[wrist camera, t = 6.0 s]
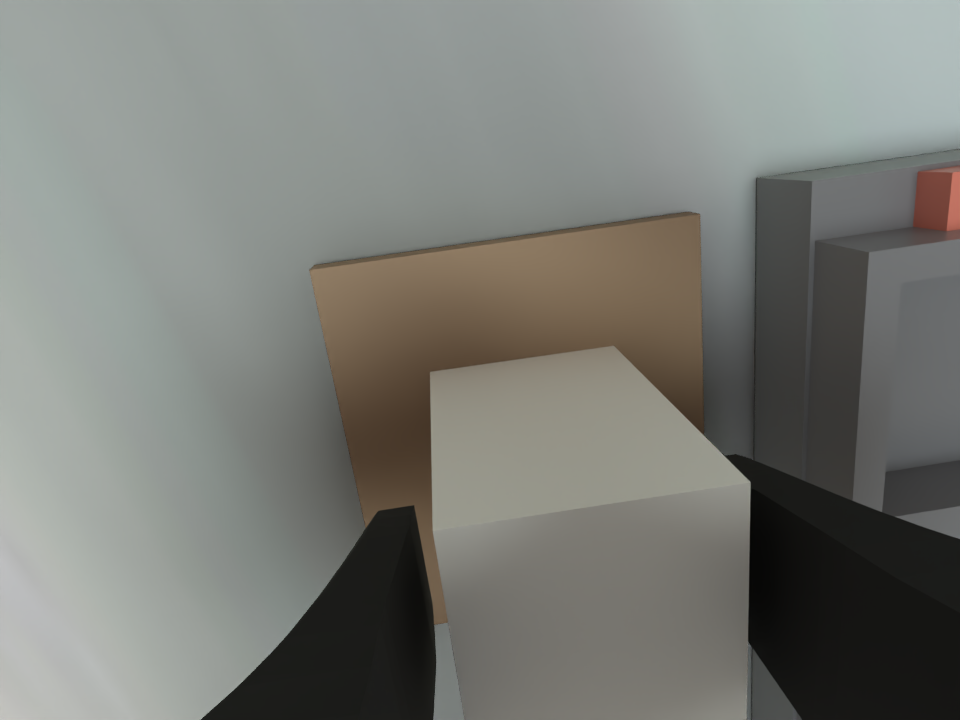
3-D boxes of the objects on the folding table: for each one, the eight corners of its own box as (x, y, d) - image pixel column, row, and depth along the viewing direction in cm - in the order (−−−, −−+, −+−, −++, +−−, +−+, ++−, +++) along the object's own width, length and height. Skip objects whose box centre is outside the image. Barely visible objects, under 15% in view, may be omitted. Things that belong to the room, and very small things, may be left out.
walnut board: (696, 564, 16) (706, 579, 16) (389, 615, 16) (388, 632, 15) (688, 212, 13) (700, 214, 13) (314, 265, 13) (309, 269, 12)
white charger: (622, 506, 15) (746, 725, 9) (455, 532, 15) (473, 770, 9) (613, 345, 13) (750, 482, 8) (429, 371, 13) (432, 530, 8)
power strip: (922, 898, 21) (1015, 1036, 18) (749, 930, 21) (811, 1076, 18) (1027, 139, 13) (1224, 133, 10) (757, 177, 13) (867, 184, 10)
